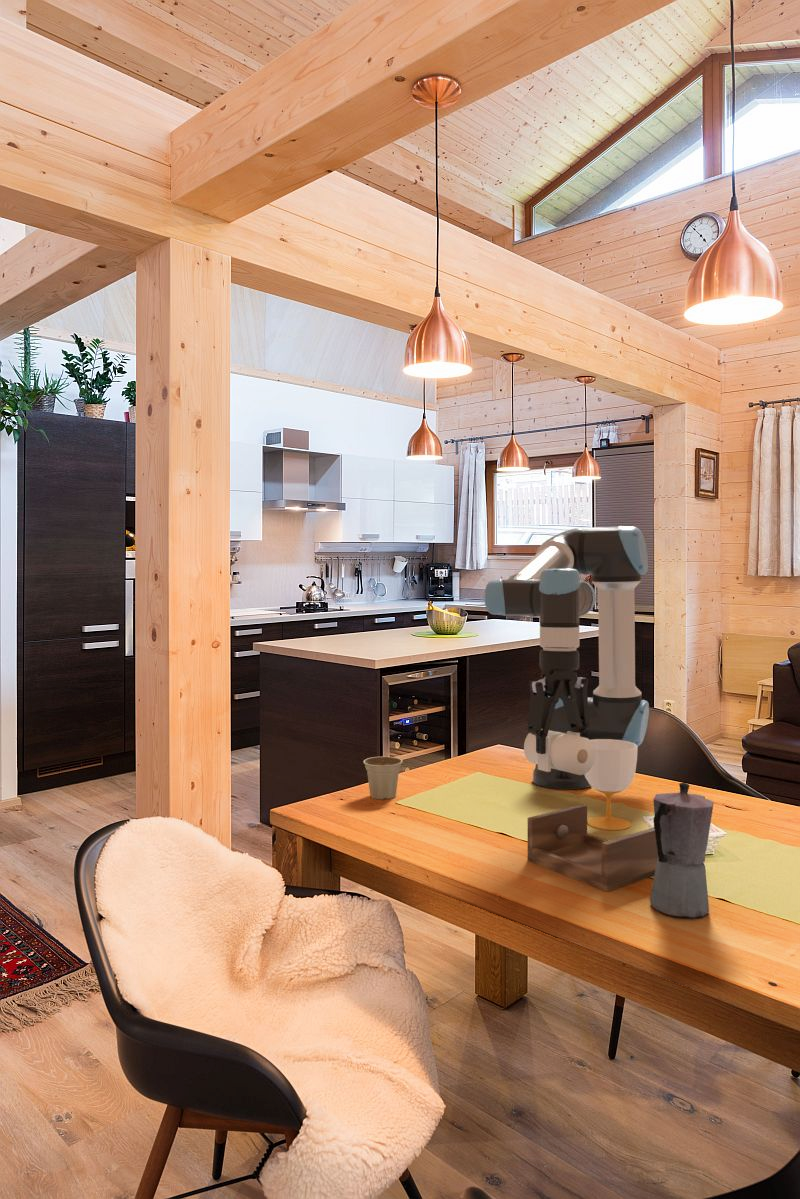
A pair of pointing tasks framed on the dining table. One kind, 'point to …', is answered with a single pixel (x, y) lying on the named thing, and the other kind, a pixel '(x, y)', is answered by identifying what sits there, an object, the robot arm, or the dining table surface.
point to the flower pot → (383, 776)
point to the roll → (564, 752)
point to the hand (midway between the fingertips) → (558, 767)
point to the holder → (590, 850)
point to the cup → (611, 776)
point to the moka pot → (681, 853)
